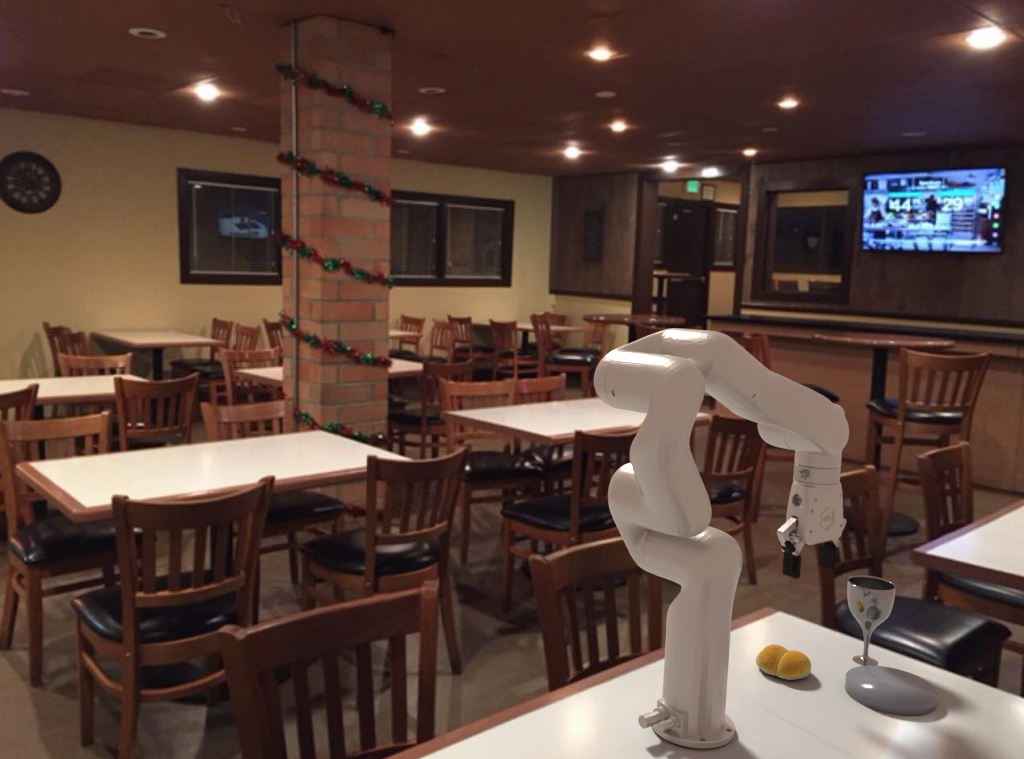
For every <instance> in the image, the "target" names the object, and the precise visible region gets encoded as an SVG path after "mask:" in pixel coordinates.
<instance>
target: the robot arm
mask: <svg viewBox="0 0 1024 759" xmlns="http://www.w3.org/2000/svg"><path fill="white" fill-rule="evenodd" d="M593 386H594V389H595V393H596V395H597V396H598V398H599V399H600V400H601V401H602V402H603V403H604V404H606V405H607V406H610V407H612V408H614V409H618V410H623V411H624V410H625V411H630V412H636V413H640V414H641V413H642V414H645V418H644V419H643V421H642V424H641V425H640V428H639V430H638V431H637V433H636V435H635V436H634V438H633V439H632V442H631V445H630V448H629V449H630V450H629V461H630V462H628V463H625V464H623V465H622V466H620V467H619V468H617V470H616V471H615V472H614V473H613V475H612V477H611V479H610V482H609V485H608V491H607V502H608V504H607V505H608V508H609V512H610V514H611V516H612V519H613V521H614V524H615V525H616V527H617V530H618V531H619V534H620V536H621V538H622V541H623V542H624V544H625V546H626V548H627V550H628V553H629V555H630V557H631V558H632V560H633V561H634V562H635V564H636V565H637V566H638V567H639V568H640V569H641V570H644V571H645V572H647V573H650V574H652V575H655V576H657V577H660V578H663V579H666V580H669V581H671V582H673V583H675V584H677V585H679V586H681V590H680V592H679V593H678V595H677V596H676V597H675V598H674V599H673V601H672V602H671V603H670V605H669V607H668V609H667V614H666V621H665V622H666V623H665V627H666V628H665V629H666V630H665V631H666V632H665V642H664V643H665V644H664V646H665V647H664V662H663V663H664V664H663V677H662V678H663V679H662V681H663V682H662V697H661V698H660V699H657V704H656V708H654V709H653V710H652V711H651V712H647V713H643V714H641V715H639V716H638V719H637V720H638V724H639V726H640V727H641V728H642V729H647V728H650V727H651V729H652V730H653V731H654V732H655V734H657V735H658V736H659V737H661V739H664V740H666V741H667V742H670V743H672V744H675V745H678V746H681V747H686V748H690V749H691V748H692V749H702V750H703V749H707V750H708V749H715V748H719V747H723V746H725V745H728V743H730V742H731V741H732V740H733V739H734V737H735V734H736V733H735V729H736V727H735V723H734V722H733V720H732V719H731V717H730V716H728V715H727V714H726V707H727V706H726V705H727V693H728V692H727V691H728V690H727V689H728V676H729V662H730V661H729V659H730V644H731V631H732V630H731V628H732V616H733V607H734V599H735V597H736V596H735V594H736V590H737V587H738V586H737V585H738V583H739V580H740V575H741V571H742V567H743V561H744V560H743V552H742V548H741V546H740V545H739V542H738V541H737V540H736V539H735V538H734V537H733V536H732V535H730V534H729V533H727V532H725V531H723V530H721V529H718V528H716V527H712V526H709V525H710V523H711V520H712V514H713V513H712V511H713V510H712V504H711V501H710V497H709V494H708V491H707V489H706V487H705V484H704V482H703V480H702V477H701V475H700V472H699V469H698V467H697V464H696V463H695V460H694V456H693V454H692V451H691V446H690V438H691V434H692V430H693V429H694V428H693V427H694V424H695V421H696V418H697V416H698V414H699V411H700V408H701V406H702V404H703V401H704V397H705V393H706V394H708V395H709V396H710V397H712V398H713V399H715V400H716V401H717V402H719V403H720V404H721V405H722V406H724V407H725V408H726V409H727V410H729V411H730V412H731V413H733V414H734V415H736V416H738V417H739V418H743V419H746V420H749V421H750V422H753V423H757V431H758V434H759V436H760V437H761V439H762V440H763V441H764V442H765V443H767V444H768V445H770V446H773V447H776V448H780V449H785V450H791V451H794V452H795V453H794V464H793V476H792V479H793V480H792V481H793V482H792V483H791V488H790V493H789V496H788V497H789V498H788V503H787V509H786V510H787V511H786V518H785V523H783V524H782V525H781V526H780V527H779V528H778V529H777V531H776V535H777V538H778V544H779V546H780V547H781V552H783V558H782V571H781V572H782V574H783V575H785V576H787V577H790V578H793V579H796V580H797V579H800V578H801V570H802V555H800V553H801V551H802V549H803V548H804V546H805V544H806V545H809V546H811V545H812V546H813V545H818V544H819V551H818V564H817V565H818V566H820V567H822V568H825V569H828V570H831V571H834V570H836V569H837V560H838V557H837V556H838V548H839V547H840V544H841V541H840V540H841V538H842V537H843V535H844V531H845V530H844V529H845V527H846V524H847V519H846V518H844V499H843V498H844V497H843V488H842V483H841V482H840V480H841V471H842V470H841V468H842V458H843V457H842V454H843V449H845V447H846V445H847V444H848V442H849V437H850V436H849V435H850V427H849V423H848V420H847V418H846V414H845V410H844V408H843V407H842V406H841V405H839V404H836V403H834V402H832V401H831V400H830V399H829V398H828V397H826V396H824V395H823V394H821V393H819V392H817V391H816V390H813V389H811V388H809V387H808V386H805V385H803V384H800V383H798V382H796V381H794V380H792V379H790V378H788V377H785V376H783V375H781V374H778V373H776V372H774V371H772V370H770V369H769V368H767V367H766V366H765V365H764V364H763V363H762V362H760V361H759V360H758V359H757V358H756V357H754V356H753V355H752V354H751V353H750V352H749V351H748V350H746V349H745V348H744V346H743V347H742V345H740V344H739V343H738V342H737V341H736V340H735V339H734V338H732V337H731V336H729V335H728V334H726V333H723V332H719V331H716V330H704V329H693V328H692V329H691V328H677V327H675V328H667V329H666V328H665V329H663V330H660V331H657V332H654V333H652V334H649V335H646V336H643V337H642V338H639V339H637V340H634V341H632V342H630V343H627V344H624V345H622V346H619V347H617V348H614V349H613V350H611V351H609V352H608V353H607V354H605V355H604V356H603V357H602V358H601V360H600V361H599V363H598V364H597V366H596V368H595V371H594V375H593ZM794 542H795V543H796V544H795V545H794V544H793V543H794Z"/></svg>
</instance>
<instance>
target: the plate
mask: <svg viewBox="0 0 1024 759" xmlns="http://www.w3.org/2000/svg"><path fill="white" fill-rule="evenodd" d="M844 689H845V692H846V694H848V696H849V697H851V699H853V700H854V701H856V702H857V703H859V704H860V705H861V704H862V705H863V706H865V707H868V708H870V709H873V710H875V711H879V712H882V713H886V714H891V715H897V716H903V717H904V716H905V717H908V716H909V717H916V716H917V717H918V716H924V715H925V716H926V715H927V714H930V713H932V712H934V711H935V710H936V707H937V702H938V700H937V699H938V691H937V688H935V686H934V685H933V684H932V683H931V682H929V681H928V680H926V679H924V677H923V678H922V677H920V676H919V675H916V674H913V673H912V672H909V671H905V670H902V669H898V668H894V667H890V666H881V665H877V666H863V665H860V666H856V667H852V668H850V669H849V670H847V671H846V674H845V682H844Z"/></svg>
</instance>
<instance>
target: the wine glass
mask: <svg viewBox="0 0 1024 759" xmlns="http://www.w3.org/2000/svg"><path fill="white" fill-rule="evenodd" d="M846 590H847V592H846V594H847V596H846V597H847V603H848V608H849V611H850V612H851V614H852V616H853V617H854V618H855V620H856V621H857V622H858V624H859V625H860V627H861V630H862V634H863V652H862V655H854V656H853V657H852V658H851V659H852V661H853V662H854V663H855V664H858V665H860V666H879V661H878V660H877V659H876V658H873V657H871V656H870V655H869V647H870V642H871V636H872V633H873V632H874V631H875V629H876V628H877V627H878V626H880V625H881V624H882V623H884V622H885V620H887V619H888V617H890V615H891V612H892V610H893V606H894V603H895V597H896V596H895V595H896V584H895V583H894V582H893V581H890V580H889V579H888V580H887V579H886V578H881V577H878V576H874V575H873V576H872V575H865V574H864V575H863V574H862V575H861V574H859V575H851V576H849V577H848V579H847V589H846Z"/></svg>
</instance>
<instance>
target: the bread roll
mask: <svg viewBox="0 0 1024 759" xmlns="http://www.w3.org/2000/svg"><path fill="white" fill-rule="evenodd" d="M811 662H812V661H811V659H810V658H809V656H807V655H806V654H805V653H804V652H801V651H799V650H794V649H792V650H788V649H787V648H786V647H784V646H783V645H780V644H769V645H767V646H765V647H764V648H763V649H762V650H761V651H760V652H758V654H757V656H756V657H755V663H756V666H757V667H758V668H759V669H760V670H761V671H762V672H763V673H765V674H767V675H771V676H773V677H774V676H776V677H777V678H779V679H783V680H787V681H788V680H789V681H790V680H792V681H793V680H799V679H800V680H801V679H803V678H807V677H808V676H809V675H810V674H811V672H812V663H811Z"/></svg>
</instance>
